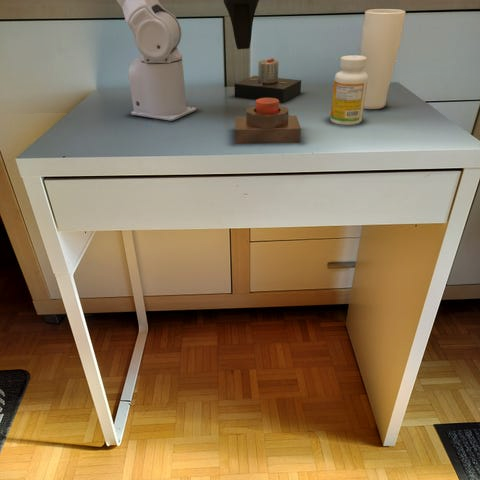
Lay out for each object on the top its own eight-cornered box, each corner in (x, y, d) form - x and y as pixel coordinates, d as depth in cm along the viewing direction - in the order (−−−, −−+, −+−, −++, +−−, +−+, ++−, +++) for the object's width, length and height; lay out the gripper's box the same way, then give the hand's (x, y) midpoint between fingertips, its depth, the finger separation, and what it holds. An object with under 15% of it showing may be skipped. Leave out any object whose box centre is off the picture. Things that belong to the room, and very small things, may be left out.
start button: (256, 116, 69) (256, 103, 68) (255, 109, 72) (255, 97, 71) (279, 115, 69) (279, 103, 68) (277, 109, 72) (278, 97, 71)
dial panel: (234, 97, 93) (234, 82, 91) (254, 88, 99) (254, 74, 97) (283, 103, 89) (283, 88, 87) (300, 93, 94) (301, 79, 93)
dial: (272, 84, 90) (273, 62, 88) (254, 82, 92) (254, 60, 89) (281, 80, 93) (282, 58, 90) (263, 78, 94) (264, 57, 92)
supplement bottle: (339, 115, 82) (347, 53, 75) (367, 120, 79) (376, 56, 73) (324, 122, 78) (330, 58, 72) (352, 127, 76) (360, 61, 70)
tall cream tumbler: (387, 112, 82) (405, 13, 73) (349, 109, 84) (362, 12, 75) (390, 103, 87) (407, 9, 78) (354, 100, 89) (367, 8, 80)
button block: (235, 144, 70) (235, 116, 68) (235, 130, 76) (235, 104, 73) (300, 142, 70) (301, 115, 68) (295, 129, 76) (297, 103, 73)
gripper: (268, -59, 62) (269, 54, 71) (263, -57, 74) (264, 40, 82) (217, -55, 63) (224, 57, 71) (220, -54, 74) (226, 42, 83)
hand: (243, 48), depth 77 cm, fingers closed
